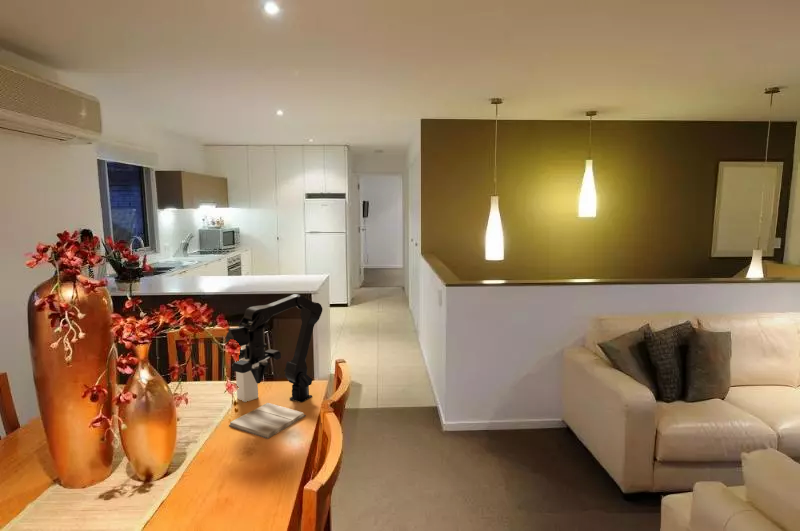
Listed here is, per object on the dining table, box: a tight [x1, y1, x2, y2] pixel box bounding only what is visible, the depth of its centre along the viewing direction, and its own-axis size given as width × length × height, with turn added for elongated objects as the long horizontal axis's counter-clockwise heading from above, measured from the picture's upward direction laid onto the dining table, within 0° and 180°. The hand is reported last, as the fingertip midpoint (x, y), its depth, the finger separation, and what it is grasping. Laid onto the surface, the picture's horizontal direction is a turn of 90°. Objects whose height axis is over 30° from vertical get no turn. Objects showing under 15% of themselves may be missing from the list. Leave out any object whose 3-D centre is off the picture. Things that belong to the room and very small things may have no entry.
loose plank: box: [255, 402, 305, 424], centre depth 169 cm, size 6×18×1 cm, turn 61°
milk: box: [234, 345, 259, 403], centre depth 182 cm, size 6×6×22 cm
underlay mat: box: [228, 414, 306, 439], centre depth 164 cm, size 19×18×1 cm
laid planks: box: [229, 409, 293, 439], centre depth 161 cm, size 12×18×1 cm, turn 61°
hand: (258, 383), depth 168 cm, fingers closed
